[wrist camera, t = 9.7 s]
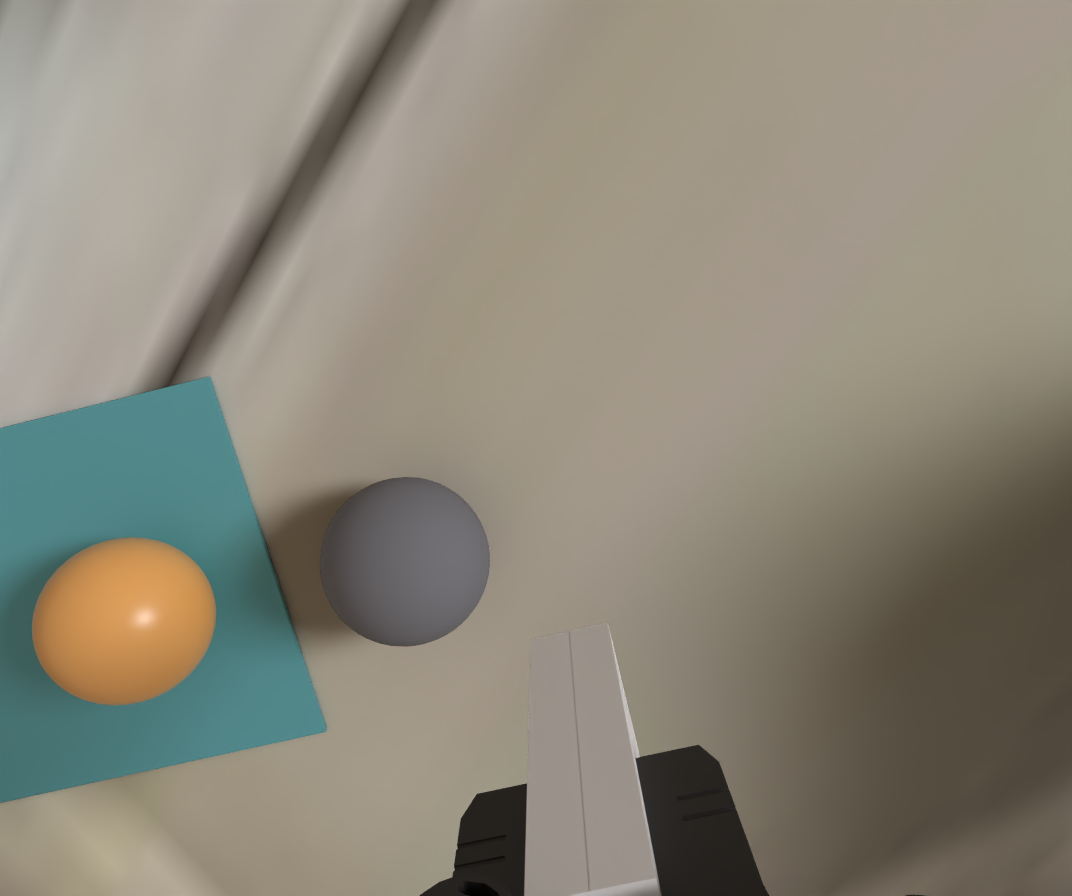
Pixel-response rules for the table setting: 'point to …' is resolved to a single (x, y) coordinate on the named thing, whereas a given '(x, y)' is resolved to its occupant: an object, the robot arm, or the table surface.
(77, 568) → the orange ball
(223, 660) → the teal mark
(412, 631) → the charcoal ball
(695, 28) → the table surface
